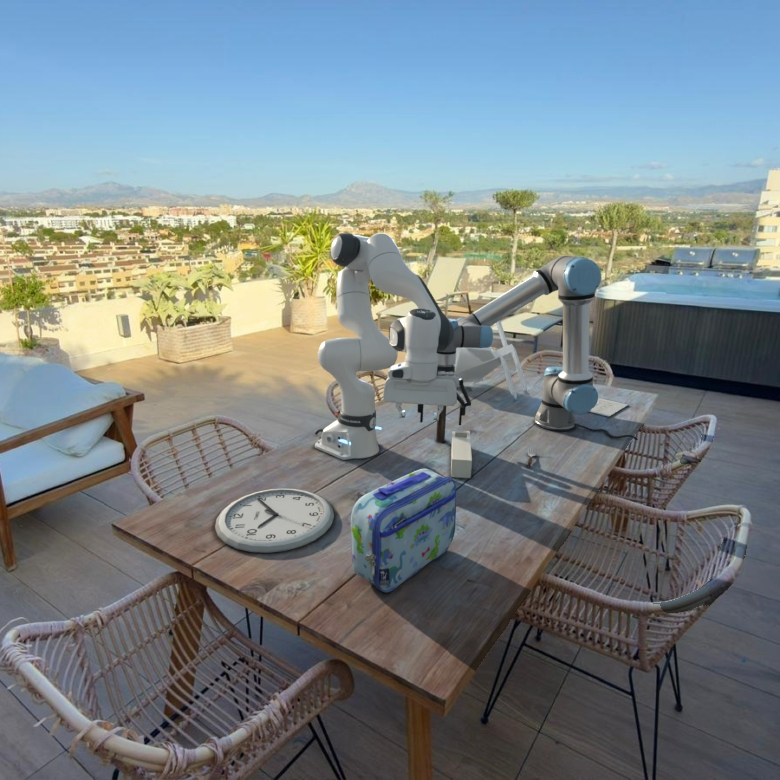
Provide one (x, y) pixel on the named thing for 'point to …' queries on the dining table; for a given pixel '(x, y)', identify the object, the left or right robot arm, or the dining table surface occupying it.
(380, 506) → the lunch box
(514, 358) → the white plastic object
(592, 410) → the invitation card
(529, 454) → the fork
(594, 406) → the right robot arm
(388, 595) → the dining table surface
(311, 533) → the wall clock
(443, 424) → the walnut peg
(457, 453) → the peg block
